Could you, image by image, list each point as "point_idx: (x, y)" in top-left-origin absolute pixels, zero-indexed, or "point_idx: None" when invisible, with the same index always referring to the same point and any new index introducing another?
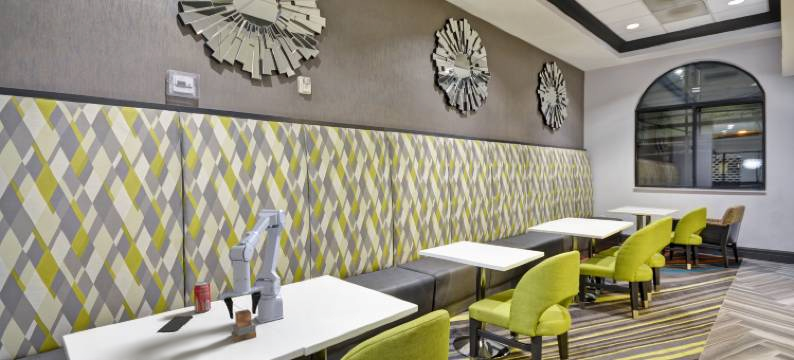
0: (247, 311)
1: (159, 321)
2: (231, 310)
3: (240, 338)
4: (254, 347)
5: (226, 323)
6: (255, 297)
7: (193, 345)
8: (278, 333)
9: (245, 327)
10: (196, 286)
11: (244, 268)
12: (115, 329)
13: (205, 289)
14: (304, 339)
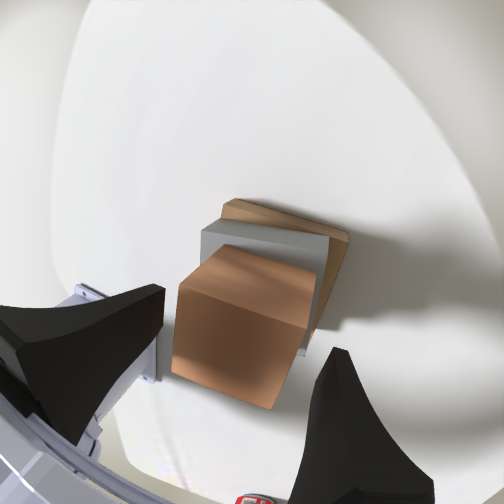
0: (193, 337)
1: None
2: (356, 403)
3: (321, 228)
4: (309, 79)
5: (257, 425)
6: (25, 338)
7: (461, 360)
8: (138, 150)
9: (275, 242)
10: None
11: None
12: None
13: None
14: (110, 18)
